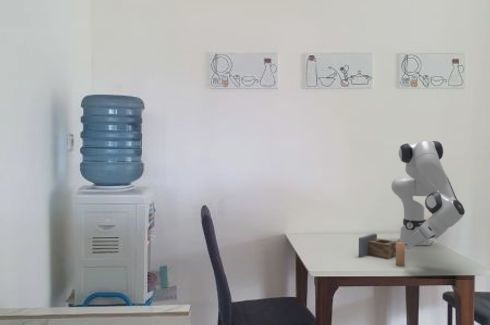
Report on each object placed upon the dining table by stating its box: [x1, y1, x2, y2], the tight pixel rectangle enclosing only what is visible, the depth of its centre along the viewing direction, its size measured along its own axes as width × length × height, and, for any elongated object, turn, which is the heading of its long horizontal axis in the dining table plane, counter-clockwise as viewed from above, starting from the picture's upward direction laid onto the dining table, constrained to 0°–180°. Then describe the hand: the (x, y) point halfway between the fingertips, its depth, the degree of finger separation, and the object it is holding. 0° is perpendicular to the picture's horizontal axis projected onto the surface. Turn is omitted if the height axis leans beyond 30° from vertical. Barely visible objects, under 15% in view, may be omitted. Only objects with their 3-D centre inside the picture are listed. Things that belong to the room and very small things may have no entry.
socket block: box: [367, 237, 398, 260], centre depth 226 cm, size 11×11×7 cm
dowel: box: [395, 241, 406, 267], centre depth 207 cm, size 4×4×11 cm
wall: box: [358, 233, 378, 258], centre depth 227 cm, size 16×2×10 cm, turn 137°
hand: (411, 246), depth 204 cm, fingers open, 8 cm apart
